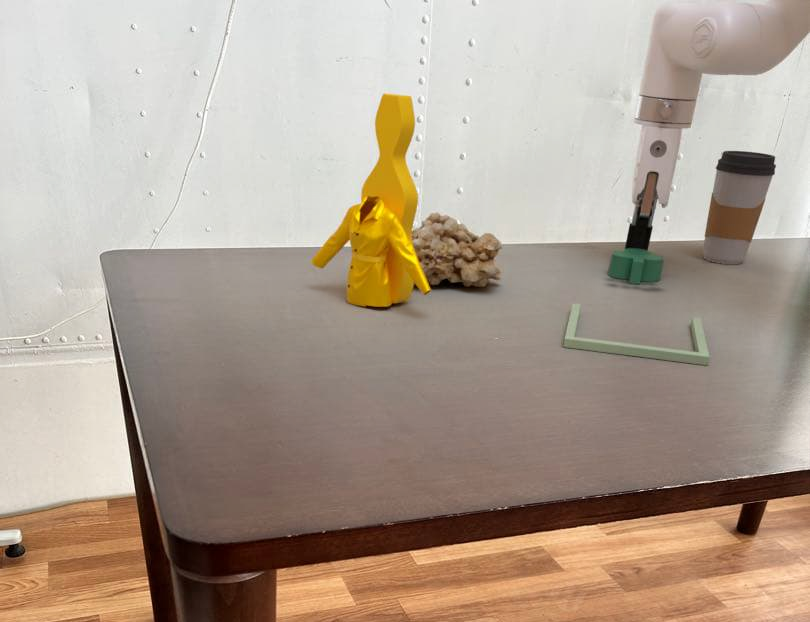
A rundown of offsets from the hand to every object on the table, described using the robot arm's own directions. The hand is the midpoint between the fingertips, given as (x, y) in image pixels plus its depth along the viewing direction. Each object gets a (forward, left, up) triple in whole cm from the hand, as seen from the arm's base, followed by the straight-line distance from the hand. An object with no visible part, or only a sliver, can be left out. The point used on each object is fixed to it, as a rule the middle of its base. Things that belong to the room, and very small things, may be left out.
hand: (635, 253), depth 119 cm
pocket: (+22, +25, -2) cm, 33 cm away
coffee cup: (-18, +1, -2) cm, 18 cm away
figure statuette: (+44, +4, -2) cm, 44 cm away
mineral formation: (+30, -2, -2) cm, 30 cm away
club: (+3, +4, -2) cm, 5 cm away
